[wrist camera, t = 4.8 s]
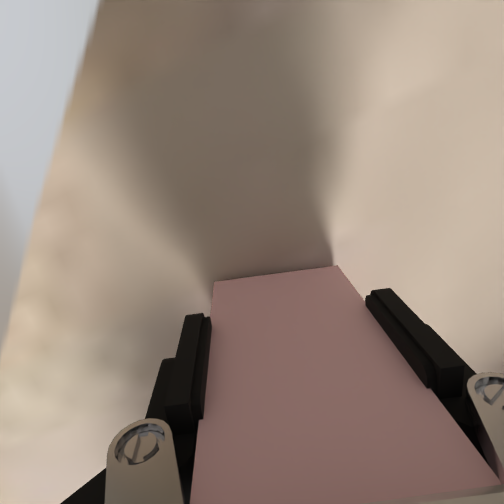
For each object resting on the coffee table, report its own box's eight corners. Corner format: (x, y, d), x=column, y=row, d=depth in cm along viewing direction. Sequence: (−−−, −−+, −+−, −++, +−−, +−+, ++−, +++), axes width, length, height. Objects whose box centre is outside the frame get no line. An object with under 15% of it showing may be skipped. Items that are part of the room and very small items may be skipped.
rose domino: (214, 281, 14) (180, 581, 5) (337, 265, 14) (537, 530, 5) (221, 324, 15) (204, 661, 6) (339, 309, 15) (519, 615, 6)
